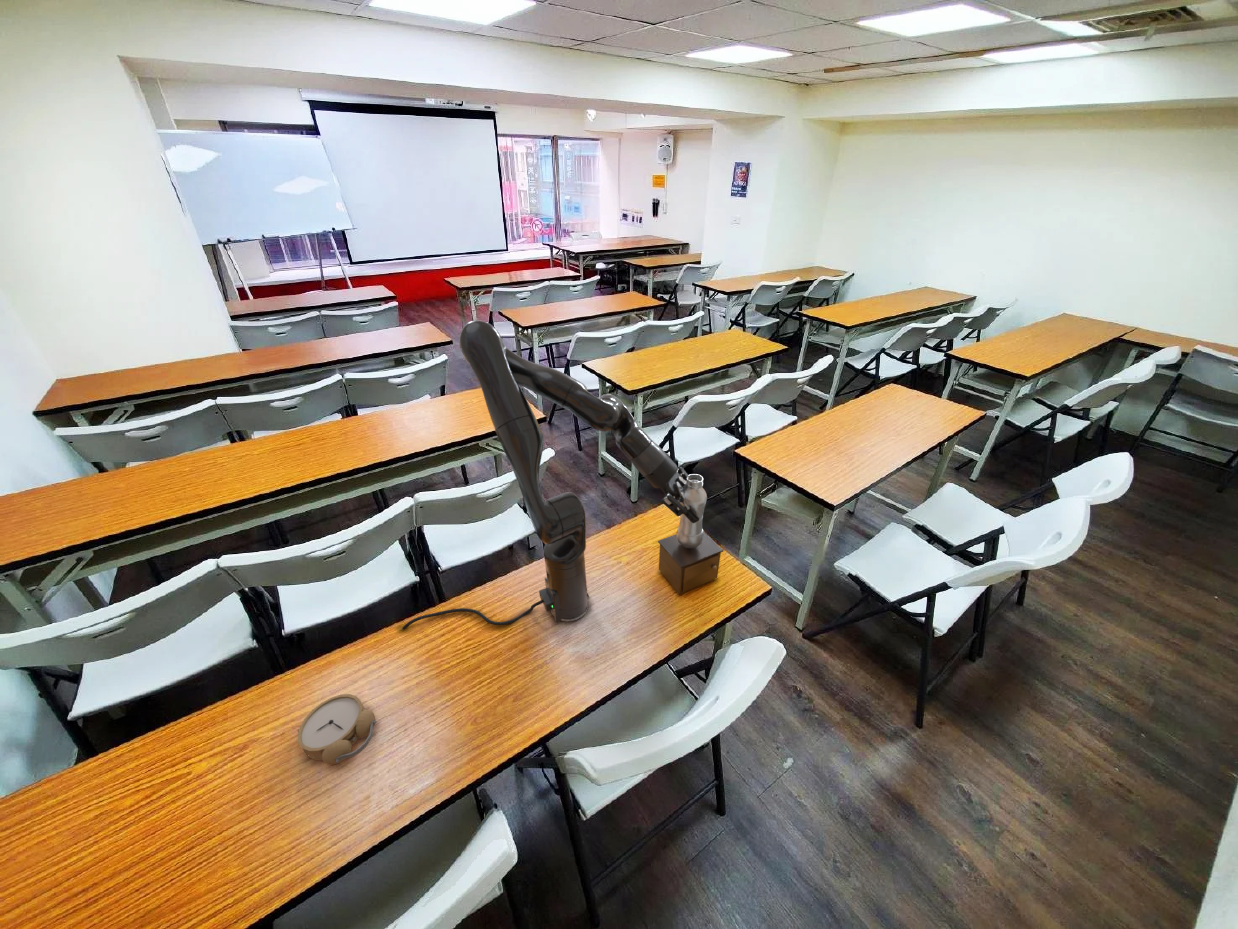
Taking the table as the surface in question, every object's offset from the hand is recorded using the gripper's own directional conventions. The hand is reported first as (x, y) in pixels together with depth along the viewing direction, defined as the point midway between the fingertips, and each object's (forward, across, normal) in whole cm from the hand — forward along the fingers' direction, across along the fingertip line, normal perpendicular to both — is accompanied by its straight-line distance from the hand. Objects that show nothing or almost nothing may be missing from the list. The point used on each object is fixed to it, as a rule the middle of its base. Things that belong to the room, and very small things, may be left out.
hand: (698, 512), depth 114 cm
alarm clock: (-24, +61, -56) cm, 87 cm away
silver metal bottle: (+6, 0, -9) cm, 11 cm away
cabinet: (+15, 0, -16) cm, 22 cm away
